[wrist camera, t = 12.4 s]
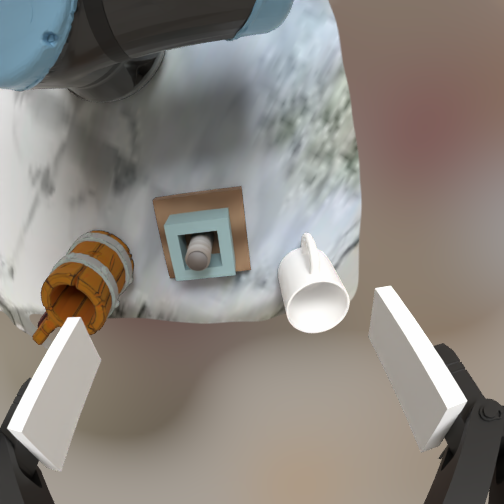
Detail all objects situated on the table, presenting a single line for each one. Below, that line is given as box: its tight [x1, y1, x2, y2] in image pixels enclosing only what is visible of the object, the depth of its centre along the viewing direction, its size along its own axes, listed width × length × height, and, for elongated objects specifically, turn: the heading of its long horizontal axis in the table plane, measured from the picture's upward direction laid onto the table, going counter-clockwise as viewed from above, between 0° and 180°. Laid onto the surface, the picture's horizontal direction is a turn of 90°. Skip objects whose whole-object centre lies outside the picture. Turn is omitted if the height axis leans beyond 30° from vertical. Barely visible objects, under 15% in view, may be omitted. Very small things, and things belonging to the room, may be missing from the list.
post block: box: [153, 186, 251, 278], centre depth 41 cm, size 12×12×9 cm
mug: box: [32, 231, 134, 345], centre depth 40 cm, size 11×16×15 cm, turn 125°
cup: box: [278, 233, 349, 333], centre depth 43 cm, size 8×12×10 cm
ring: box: [164, 208, 236, 281], centre depth 42 cm, size 8×8×4 cm
